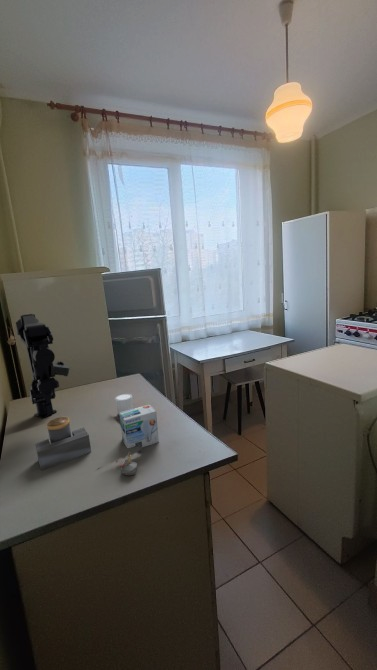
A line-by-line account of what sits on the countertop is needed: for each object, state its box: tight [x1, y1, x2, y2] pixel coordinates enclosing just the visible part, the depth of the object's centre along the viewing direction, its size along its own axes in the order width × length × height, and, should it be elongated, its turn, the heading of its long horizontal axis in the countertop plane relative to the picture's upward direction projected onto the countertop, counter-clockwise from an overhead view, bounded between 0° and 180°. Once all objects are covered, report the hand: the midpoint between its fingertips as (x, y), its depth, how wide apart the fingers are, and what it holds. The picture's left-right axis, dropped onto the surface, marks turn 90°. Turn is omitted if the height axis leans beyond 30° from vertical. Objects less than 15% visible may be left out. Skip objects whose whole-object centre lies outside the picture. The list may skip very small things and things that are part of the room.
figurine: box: [120, 451, 138, 476], centre depth 81 cm, size 5×4×6 cm
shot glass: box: [114, 393, 134, 417], centre depth 117 cm, size 7×7×7 cm
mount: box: [34, 427, 92, 471], centre depth 93 cm, size 18×16×7 cm
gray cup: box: [45, 416, 72, 444], centre depth 90 cm, size 6×6×10 cm
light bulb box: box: [119, 404, 160, 449], centre depth 95 cm, size 11×7×11 cm, turn 118°
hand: (48, 401), depth 107 cm, fingers closed
